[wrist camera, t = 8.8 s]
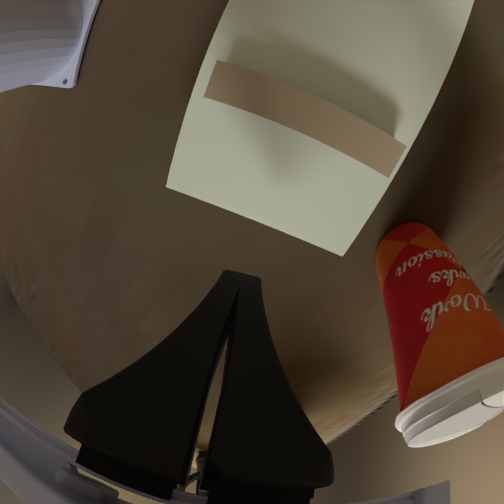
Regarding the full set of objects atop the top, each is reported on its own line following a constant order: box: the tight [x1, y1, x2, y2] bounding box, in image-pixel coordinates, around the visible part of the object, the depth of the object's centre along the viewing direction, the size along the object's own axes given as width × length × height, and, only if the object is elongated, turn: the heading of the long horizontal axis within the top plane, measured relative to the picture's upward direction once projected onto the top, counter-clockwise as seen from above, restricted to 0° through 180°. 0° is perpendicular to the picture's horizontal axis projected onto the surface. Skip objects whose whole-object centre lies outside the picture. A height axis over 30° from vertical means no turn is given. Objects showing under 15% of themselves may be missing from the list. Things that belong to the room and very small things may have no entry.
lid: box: [166, 0, 474, 257], centre depth 8 cm, size 10×18×3 cm, turn 159°
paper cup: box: [375, 222, 504, 447], centre depth 13 cm, size 8×8×14 cm
